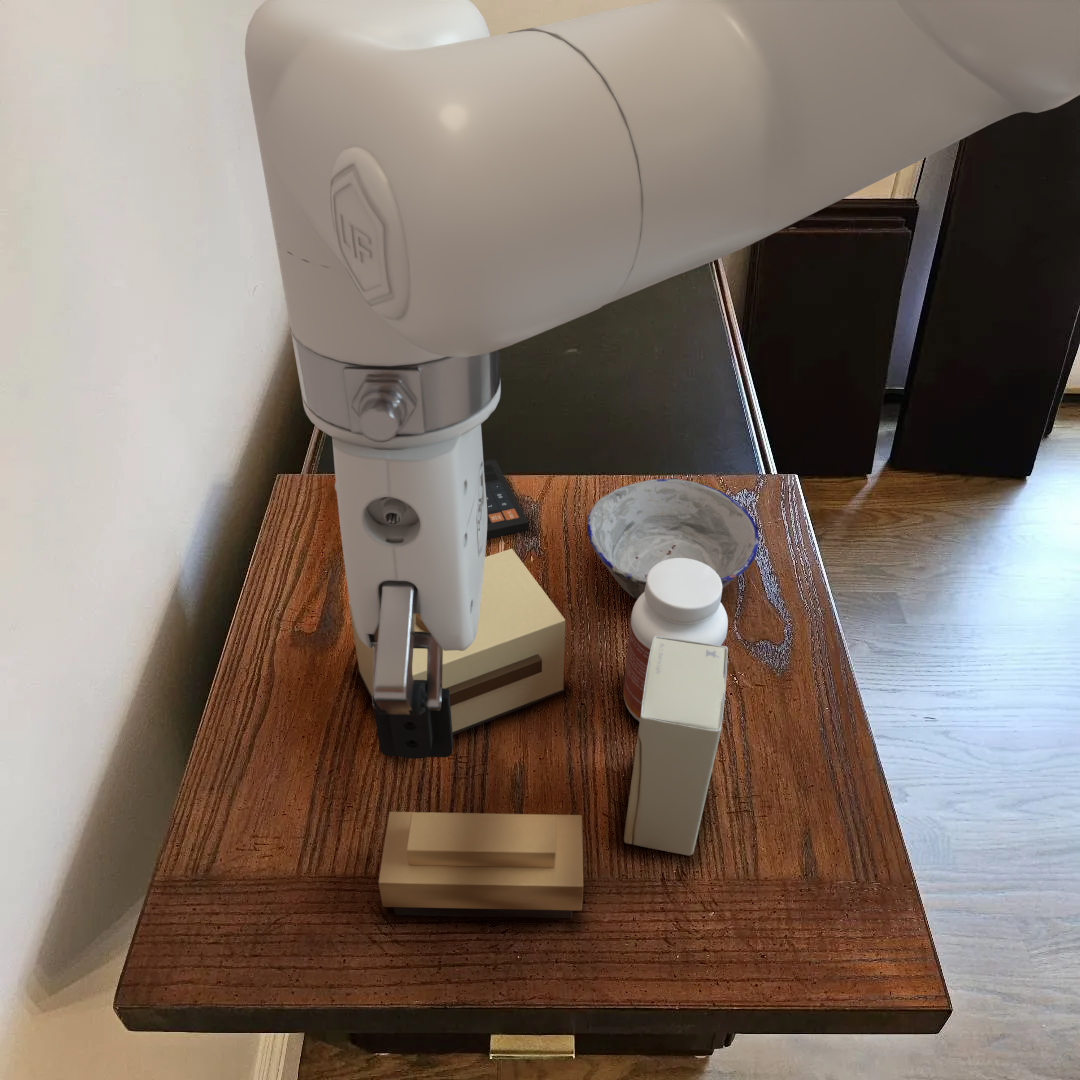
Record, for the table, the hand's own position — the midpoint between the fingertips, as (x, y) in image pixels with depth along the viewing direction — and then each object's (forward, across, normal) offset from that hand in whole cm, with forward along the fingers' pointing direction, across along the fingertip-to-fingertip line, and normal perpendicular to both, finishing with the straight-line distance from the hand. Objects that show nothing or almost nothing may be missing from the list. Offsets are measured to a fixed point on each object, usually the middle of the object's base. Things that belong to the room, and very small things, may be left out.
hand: (429, 670), depth 48 cm
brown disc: (+10, +13, +1) cm, 16 cm away
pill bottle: (+17, +13, -14) cm, 25 cm away
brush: (+16, -2, -2) cm, 17 cm away
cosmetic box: (+17, +4, -13) cm, 22 cm away
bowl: (+17, +26, -15) cm, 34 cm away
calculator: (+17, +33, +3) cm, 37 cm away
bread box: (+16, +14, 0) cm, 22 cm away
